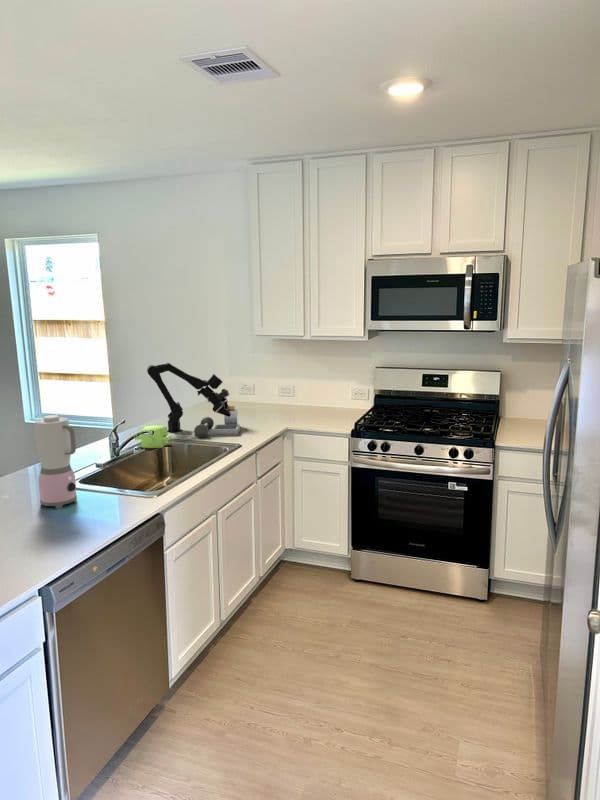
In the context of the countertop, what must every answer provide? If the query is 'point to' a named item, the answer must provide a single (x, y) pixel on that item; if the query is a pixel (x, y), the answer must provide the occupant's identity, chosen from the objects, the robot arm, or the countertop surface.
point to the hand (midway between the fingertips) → (230, 414)
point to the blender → (55, 461)
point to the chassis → (215, 429)
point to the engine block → (231, 416)
